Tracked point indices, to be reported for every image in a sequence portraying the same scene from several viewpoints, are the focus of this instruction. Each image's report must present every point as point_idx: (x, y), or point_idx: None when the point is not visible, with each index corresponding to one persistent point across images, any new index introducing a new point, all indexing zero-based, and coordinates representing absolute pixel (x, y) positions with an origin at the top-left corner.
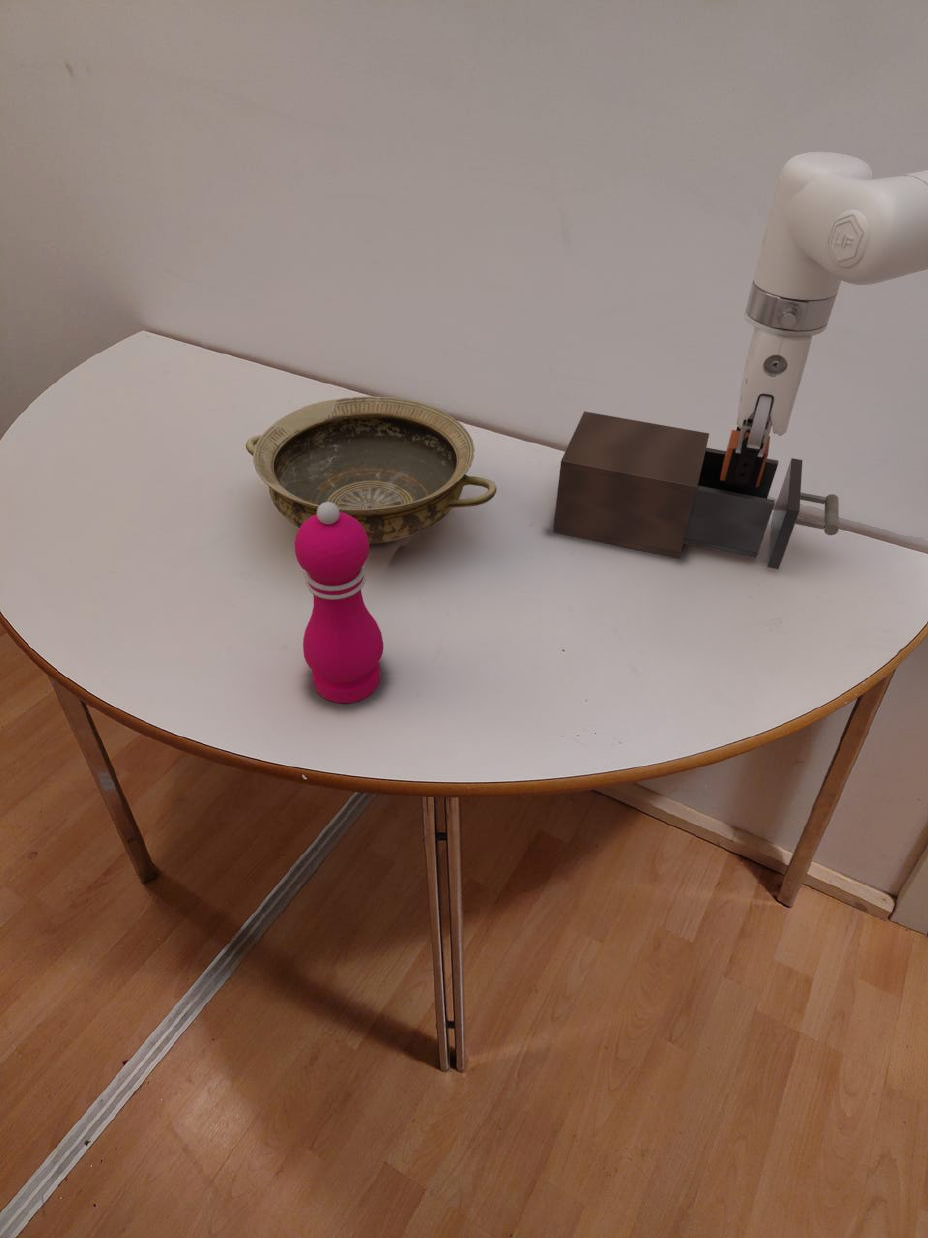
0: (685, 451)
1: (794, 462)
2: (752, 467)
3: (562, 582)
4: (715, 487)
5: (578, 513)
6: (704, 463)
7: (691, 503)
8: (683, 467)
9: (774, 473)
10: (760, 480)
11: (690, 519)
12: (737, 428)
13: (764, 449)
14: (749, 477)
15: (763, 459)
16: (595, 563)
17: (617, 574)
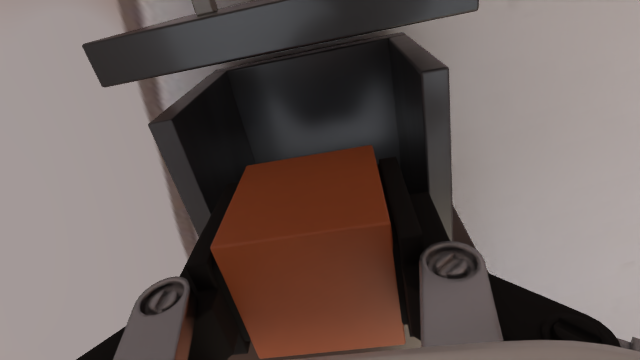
0: (325, 352)
1: (125, 69)
2: (442, 229)
3: (562, 291)
4: None
5: None
6: None
7: None
8: (413, 341)
9: (187, 108)
10: (210, 129)
11: None
12: (244, 351)
13: (489, 282)
14: (431, 202)
15: (417, 222)
16: (498, 270)
17: (517, 238)
